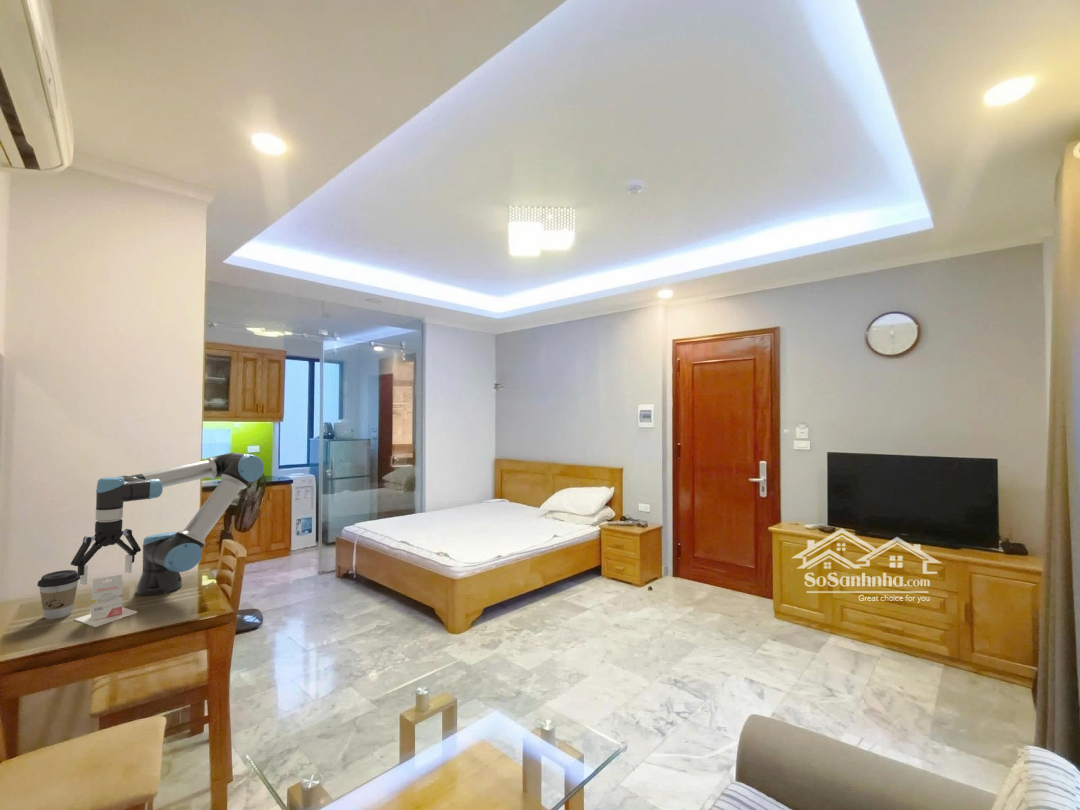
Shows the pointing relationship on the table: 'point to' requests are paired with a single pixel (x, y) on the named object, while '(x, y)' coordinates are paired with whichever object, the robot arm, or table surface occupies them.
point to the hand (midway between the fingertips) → (106, 577)
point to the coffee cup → (58, 593)
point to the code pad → (105, 620)
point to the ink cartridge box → (106, 597)
